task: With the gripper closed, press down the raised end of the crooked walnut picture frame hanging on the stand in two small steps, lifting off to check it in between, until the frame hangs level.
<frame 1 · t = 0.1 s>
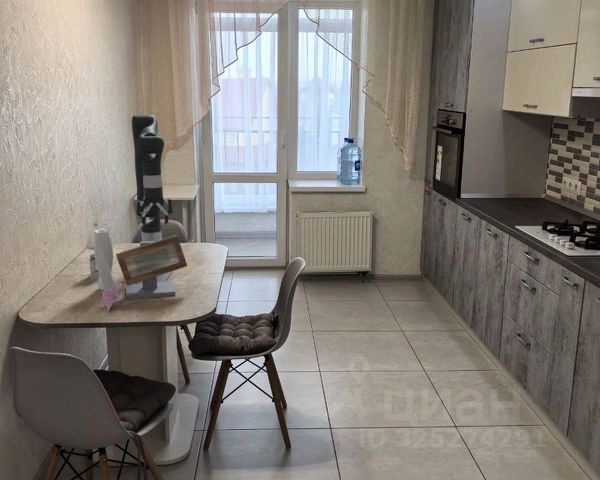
hand: (155, 224, 264), 30 cm above the table, tool pointing down, fingers open, 8 cm apart
picture frame: (152, 260, 267), point 14 cm above the table, hinge at 15.0°
play button award: (151, 280, 292), on the table
lily: (113, 307, 254), on the table
skyscraper: (107, 289, 277), on the table
display stand: (150, 291, 273), on the table
french press: (101, 275, 297), on the table
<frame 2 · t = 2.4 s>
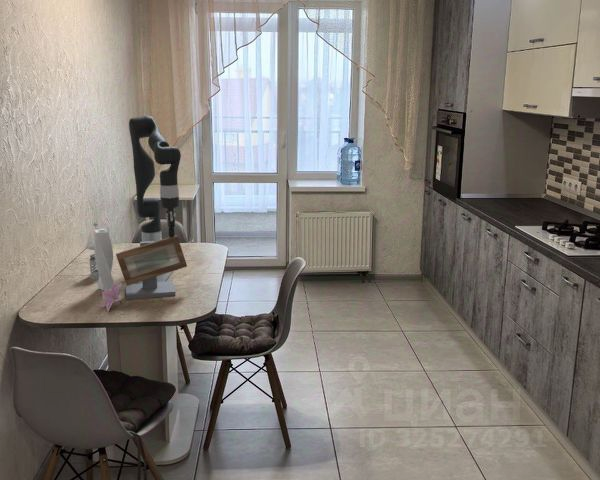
hand: (171, 236, 267), 24 cm above the table, tool pointing down, fingers closed
picture frame: (152, 260, 267), point 14 cm above the table, hinge at 14.5°, touching gripper
everything else where it was.
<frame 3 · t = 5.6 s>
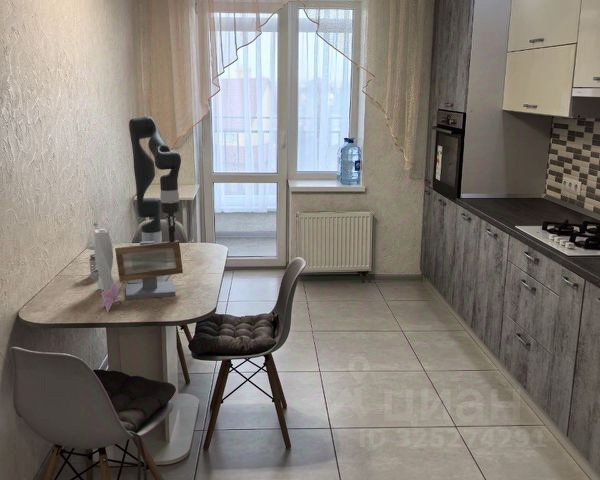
hand: (172, 241, 268), 22 cm above the table, tool pointing down, fingers closed
picture frame: (149, 260, 267), point 14 cm above the table, hinge at 3.9°, touching gripper
everything else where it was.
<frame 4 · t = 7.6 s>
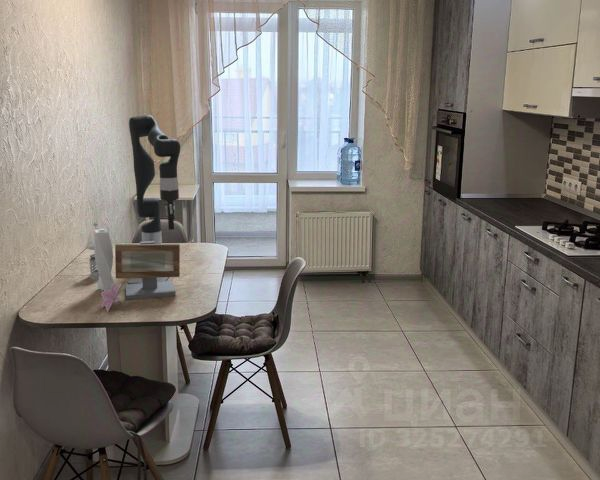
hand: (171, 229, 267), 27 cm above the table, tool pointing down, fingers closed
picture frame: (147, 260, 267), point 14 cm above the table, hinge at -3.0°
everything else where it was.
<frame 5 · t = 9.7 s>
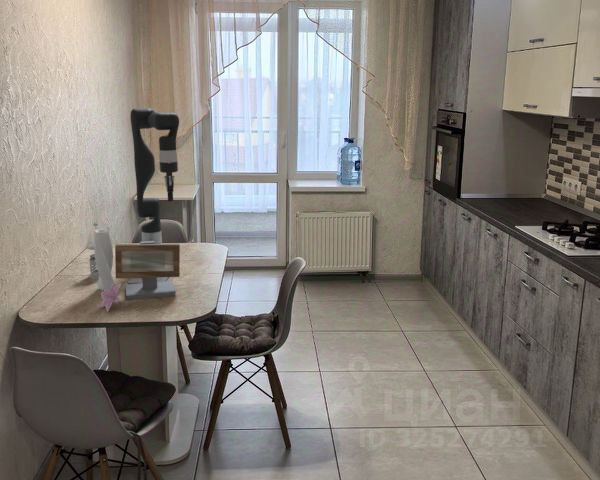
hand: (170, 200, 276), 37 cm above the table, tool pointing down, fingers closed
nothing on the table moved.
at the end: picture frame at -3° (first picture: +15°) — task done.
